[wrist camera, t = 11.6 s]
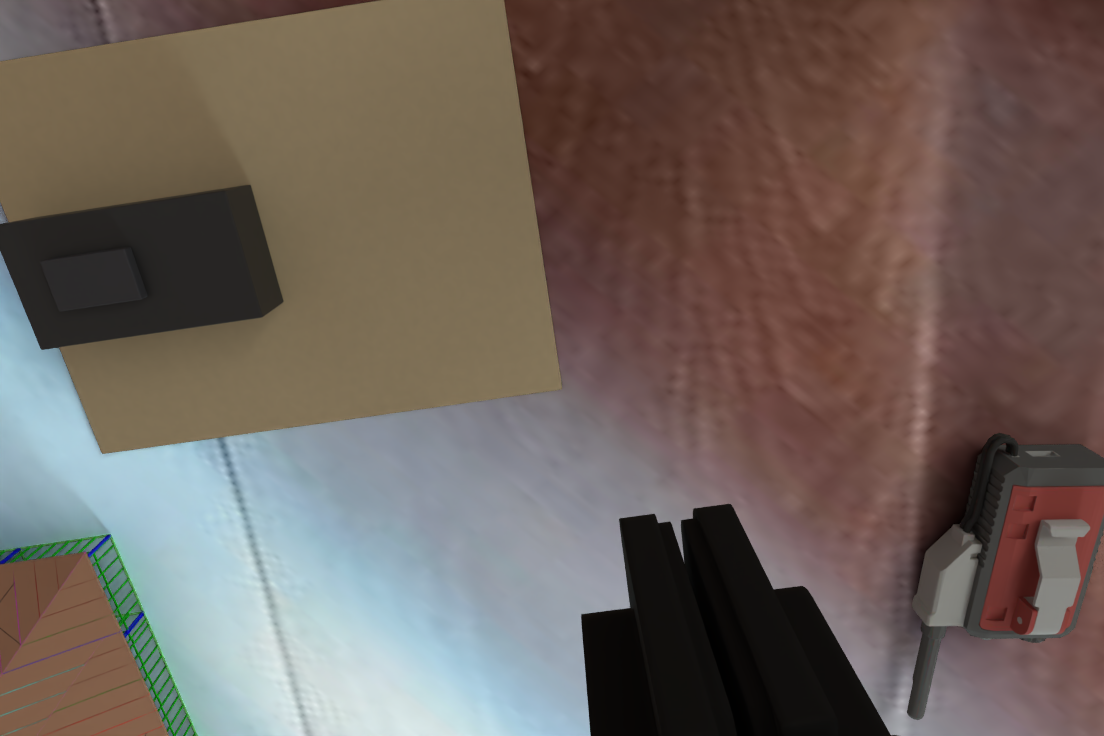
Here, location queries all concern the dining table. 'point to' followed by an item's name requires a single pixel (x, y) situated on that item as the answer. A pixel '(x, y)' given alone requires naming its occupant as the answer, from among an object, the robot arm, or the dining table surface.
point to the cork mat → (305, 212)
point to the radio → (142, 267)
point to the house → (72, 651)
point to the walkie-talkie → (1013, 551)
